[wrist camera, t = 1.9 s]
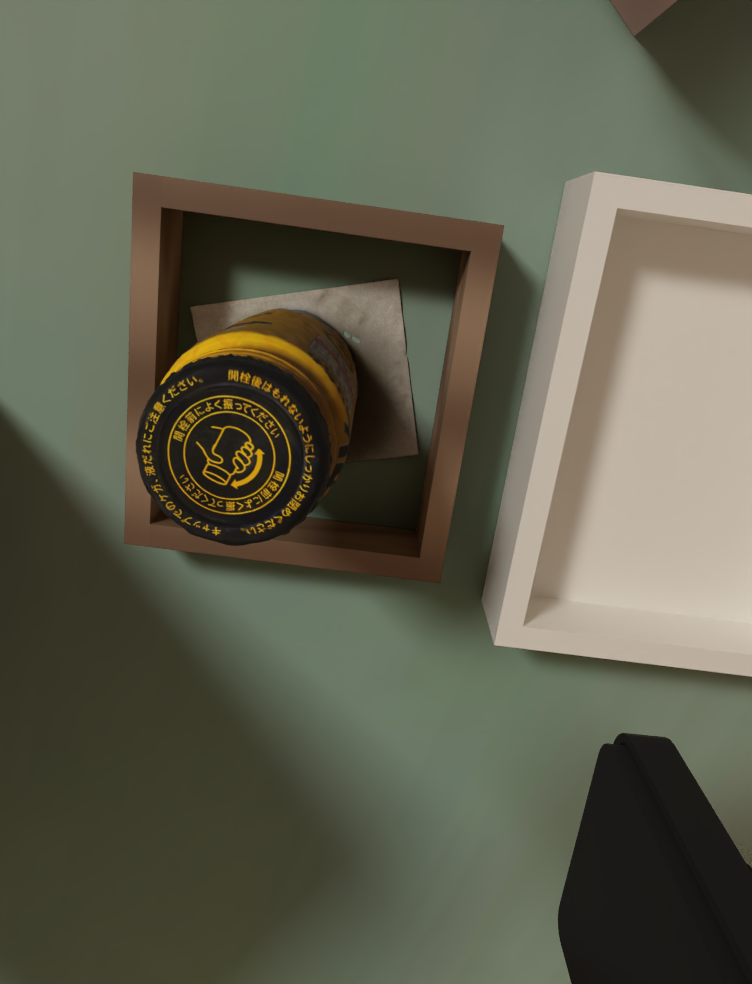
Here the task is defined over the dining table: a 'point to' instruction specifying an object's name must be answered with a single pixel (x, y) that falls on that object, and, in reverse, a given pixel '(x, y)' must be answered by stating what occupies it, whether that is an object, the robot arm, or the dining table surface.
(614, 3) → the greeting card
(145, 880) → the dining table surface
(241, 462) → the condiment
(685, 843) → the robot arm
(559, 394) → the tray
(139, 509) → the brown wooden square frame
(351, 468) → the dining table surface
